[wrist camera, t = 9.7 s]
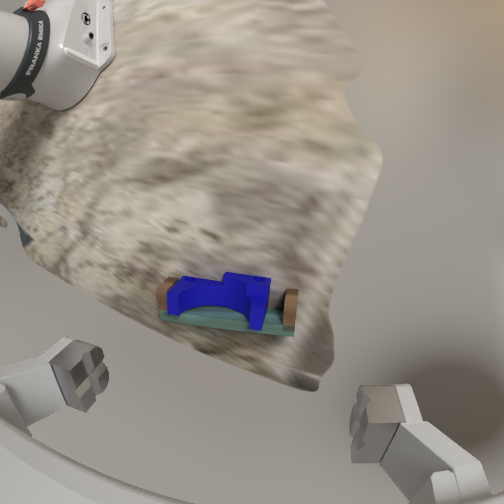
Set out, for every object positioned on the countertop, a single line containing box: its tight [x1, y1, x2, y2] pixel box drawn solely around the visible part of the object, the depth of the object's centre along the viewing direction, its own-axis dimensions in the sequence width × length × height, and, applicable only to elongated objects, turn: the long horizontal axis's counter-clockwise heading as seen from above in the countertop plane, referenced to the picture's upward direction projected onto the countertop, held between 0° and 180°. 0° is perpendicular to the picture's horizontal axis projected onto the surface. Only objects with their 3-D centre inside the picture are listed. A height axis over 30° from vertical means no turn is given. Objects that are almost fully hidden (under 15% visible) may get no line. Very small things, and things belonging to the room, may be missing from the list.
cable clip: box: [167, 272, 271, 331], centre depth 40 cm, size 12×4×6 cm, turn 85°
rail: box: [157, 277, 298, 337], centre depth 41 cm, size 5×18×4 cm, turn 88°
